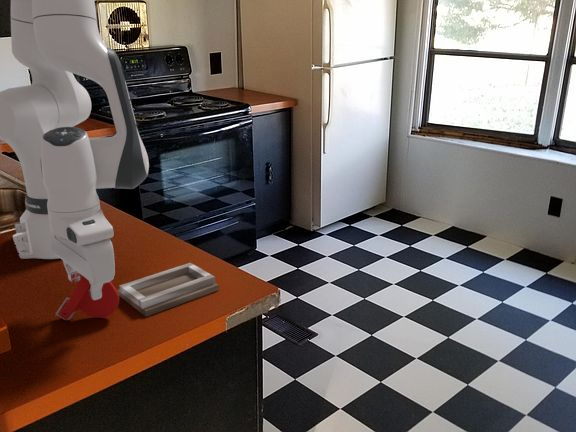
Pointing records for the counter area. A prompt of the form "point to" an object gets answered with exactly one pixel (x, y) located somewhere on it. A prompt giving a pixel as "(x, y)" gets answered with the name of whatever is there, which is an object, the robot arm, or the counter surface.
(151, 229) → the counter surface
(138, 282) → the grey rectangular tray
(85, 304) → the tracker holder
